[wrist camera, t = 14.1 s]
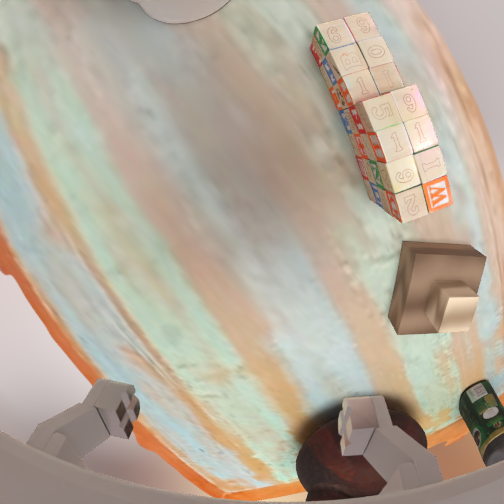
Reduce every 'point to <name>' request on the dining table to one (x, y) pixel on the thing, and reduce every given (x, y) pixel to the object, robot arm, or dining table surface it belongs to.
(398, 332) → the walnut block
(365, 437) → the robot arm
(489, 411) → the coffee jar
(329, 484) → the jug
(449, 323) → the beige wooden cube
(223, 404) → the dining table surface
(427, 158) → the stack of blocks
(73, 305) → the dining table surface
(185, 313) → the dining table surface
